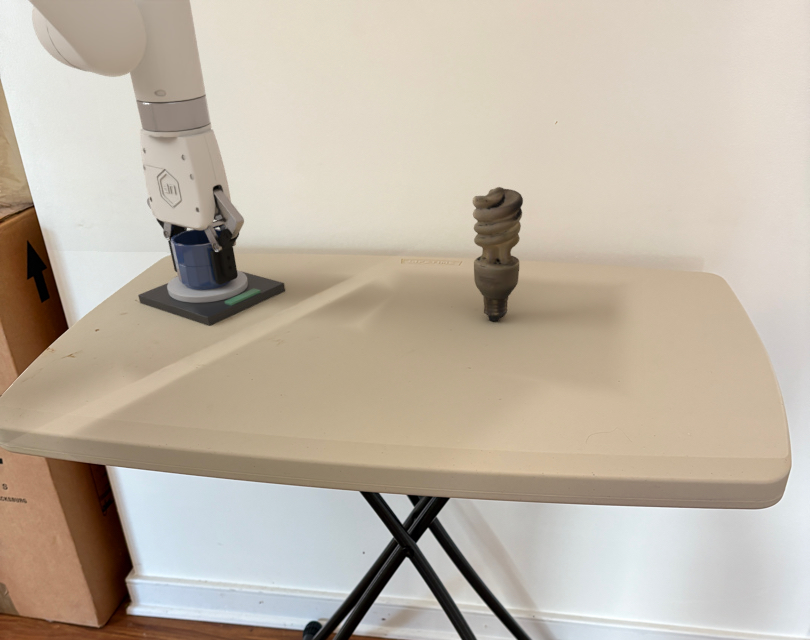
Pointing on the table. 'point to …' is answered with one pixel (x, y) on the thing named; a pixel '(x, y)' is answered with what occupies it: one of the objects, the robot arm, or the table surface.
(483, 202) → the light bulb
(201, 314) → the scale
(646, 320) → the table surface
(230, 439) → the table surface
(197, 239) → the cup
